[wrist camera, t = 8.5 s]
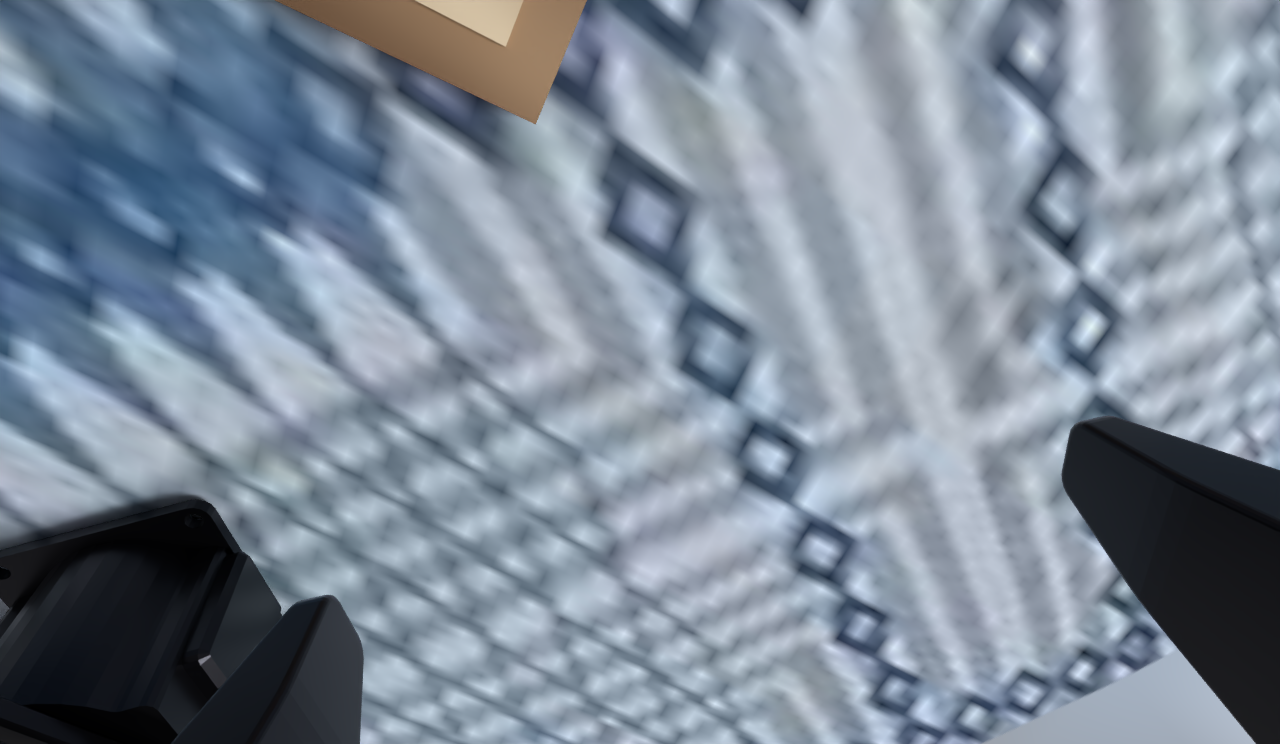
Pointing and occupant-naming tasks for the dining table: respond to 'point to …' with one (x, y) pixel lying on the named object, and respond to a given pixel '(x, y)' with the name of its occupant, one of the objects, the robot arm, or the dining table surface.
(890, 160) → the dining table surface
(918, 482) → the dining table surface
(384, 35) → the tray
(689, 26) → the dining table surface
